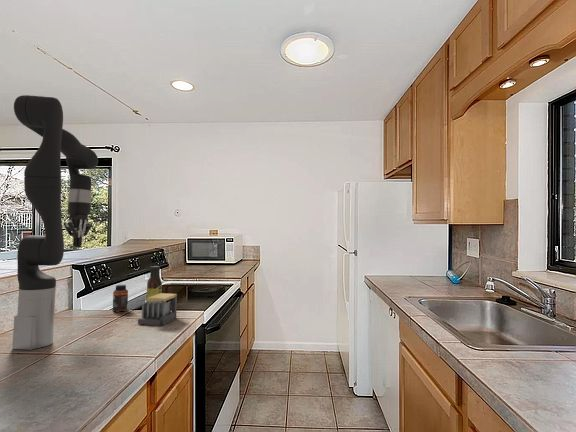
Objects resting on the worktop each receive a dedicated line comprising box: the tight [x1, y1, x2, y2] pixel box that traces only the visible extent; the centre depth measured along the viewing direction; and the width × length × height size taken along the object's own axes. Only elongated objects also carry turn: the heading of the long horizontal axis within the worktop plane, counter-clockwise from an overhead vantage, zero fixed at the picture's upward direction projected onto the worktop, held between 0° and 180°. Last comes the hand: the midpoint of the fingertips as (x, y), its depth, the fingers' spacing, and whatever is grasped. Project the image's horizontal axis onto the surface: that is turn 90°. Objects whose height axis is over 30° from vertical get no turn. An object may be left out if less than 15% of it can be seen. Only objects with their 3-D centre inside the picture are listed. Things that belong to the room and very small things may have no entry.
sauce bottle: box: [145, 265, 163, 303], centre depth 152 cm, size 6×6×20 cm
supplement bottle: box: [112, 284, 129, 312], centre depth 153 cm, size 6×6×11 cm
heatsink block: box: [141, 300, 172, 319], centre depth 136 cm, size 6×9×8 cm, turn 84°
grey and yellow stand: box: [137, 292, 178, 327], centre depth 136 cm, size 11×10×10 cm
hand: (77, 247), depth 131 cm, fingers closed
